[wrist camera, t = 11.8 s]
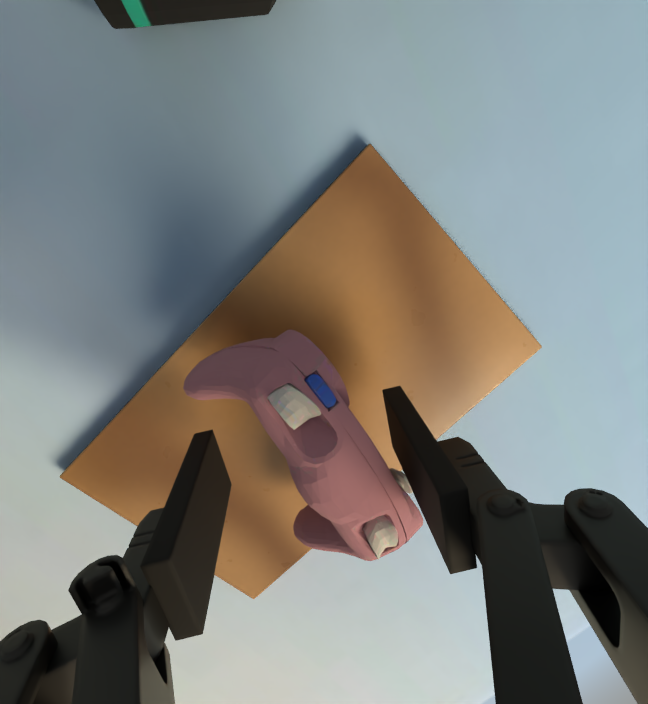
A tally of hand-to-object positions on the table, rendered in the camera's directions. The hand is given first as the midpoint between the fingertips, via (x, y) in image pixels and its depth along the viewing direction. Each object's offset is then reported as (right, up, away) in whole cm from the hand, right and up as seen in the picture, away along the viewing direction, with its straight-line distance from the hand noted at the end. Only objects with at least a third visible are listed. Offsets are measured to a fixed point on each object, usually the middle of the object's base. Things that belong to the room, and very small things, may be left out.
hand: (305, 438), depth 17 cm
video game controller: (0, +1, +1) cm, 2 cm away
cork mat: (0, +1, +3) cm, 3 cm away
